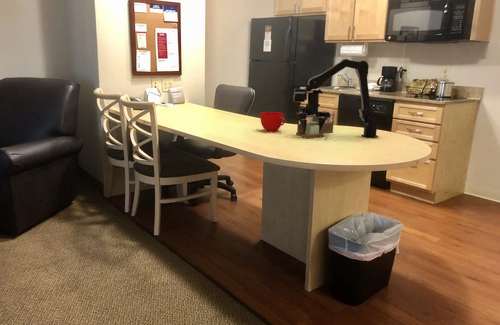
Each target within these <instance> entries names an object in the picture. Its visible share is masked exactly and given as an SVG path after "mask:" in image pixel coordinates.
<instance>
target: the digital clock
mask: <svg viewBox="0 0 500 325" xmlns="http://www.w3.org/2000/svg"><path fill="white" fill-rule="evenodd" d="M319 111H322V109H321V110H320V109H318V112H319ZM326 112H329V113H330V118H328V119H327V120H326V121H325V122H330V120H331V118H332V113H331V112H330V111H327V110H326ZM308 121H309V122H308V123H319V120H318V117H309V120H308Z"/></svg>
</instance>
